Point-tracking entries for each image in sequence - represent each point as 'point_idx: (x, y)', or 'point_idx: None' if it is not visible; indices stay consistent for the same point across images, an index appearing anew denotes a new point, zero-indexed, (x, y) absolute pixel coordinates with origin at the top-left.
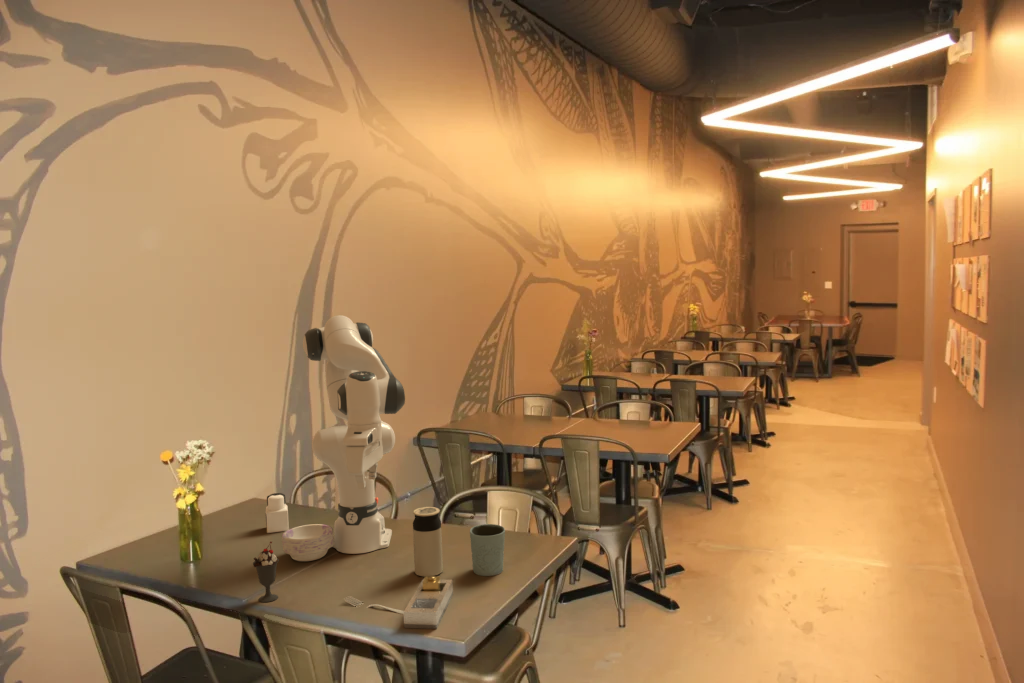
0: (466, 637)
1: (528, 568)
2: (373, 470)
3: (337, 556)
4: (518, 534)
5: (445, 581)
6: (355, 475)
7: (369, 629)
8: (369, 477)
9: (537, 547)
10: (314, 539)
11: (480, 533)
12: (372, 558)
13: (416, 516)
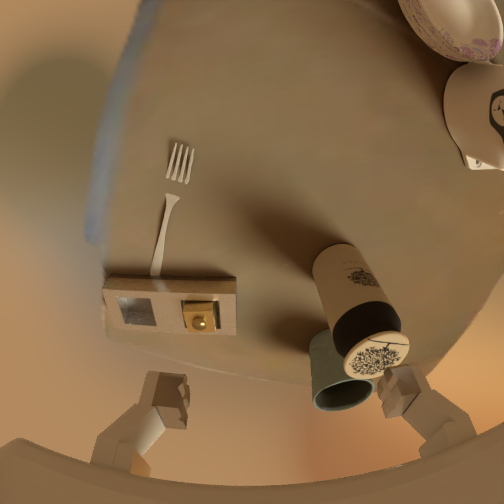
0: (114, 341)
1: None
2: (416, 414)
3: (435, 68)
4: (447, 345)
5: (227, 327)
6: (95, 447)
7: (93, 226)
8: (390, 375)
9: None
10: (426, 17)
11: None
12: (421, 143)
13: (359, 339)
